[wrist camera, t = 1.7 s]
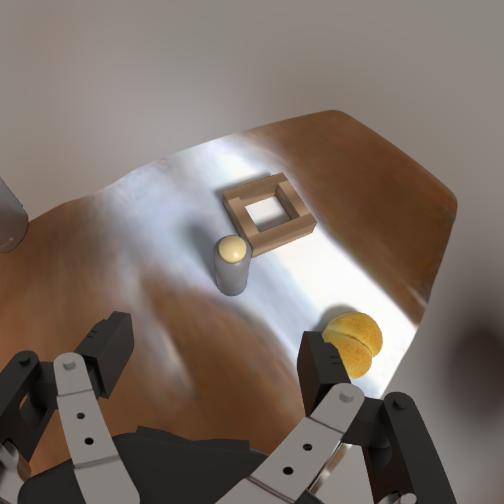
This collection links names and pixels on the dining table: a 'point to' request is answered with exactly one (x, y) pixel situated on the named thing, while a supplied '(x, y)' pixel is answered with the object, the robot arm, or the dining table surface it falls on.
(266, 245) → the socket
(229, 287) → the plug
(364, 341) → the bread roll
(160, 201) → the dining table surface
